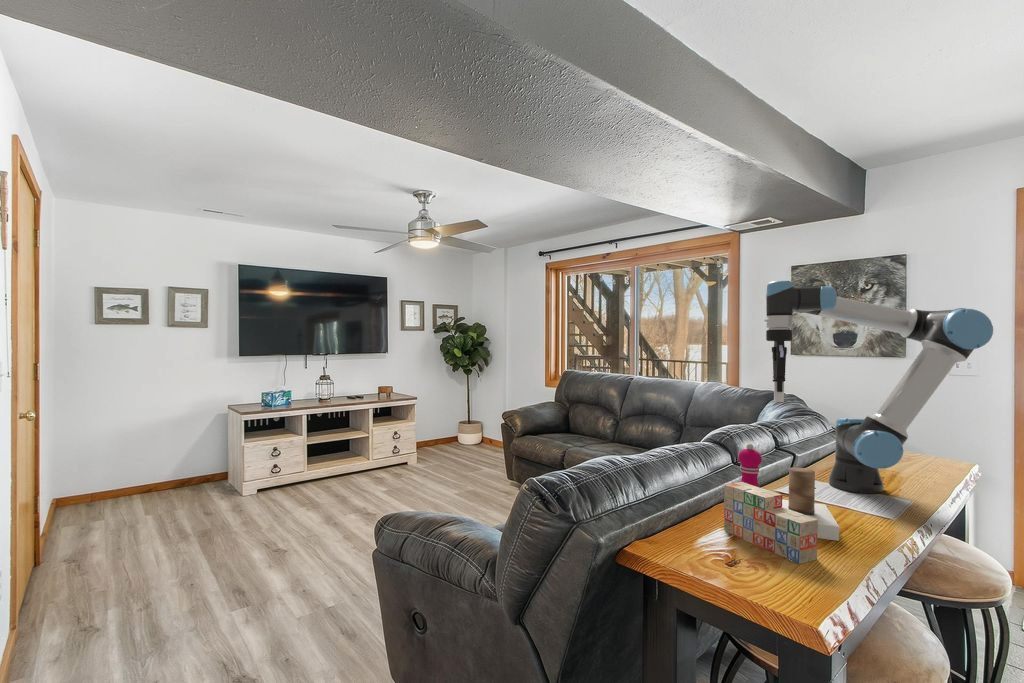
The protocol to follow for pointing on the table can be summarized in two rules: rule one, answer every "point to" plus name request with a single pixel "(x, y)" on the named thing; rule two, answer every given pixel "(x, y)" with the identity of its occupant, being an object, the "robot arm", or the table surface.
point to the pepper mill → (749, 465)
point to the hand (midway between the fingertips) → (778, 401)
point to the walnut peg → (802, 490)
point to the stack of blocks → (769, 522)
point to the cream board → (822, 521)
